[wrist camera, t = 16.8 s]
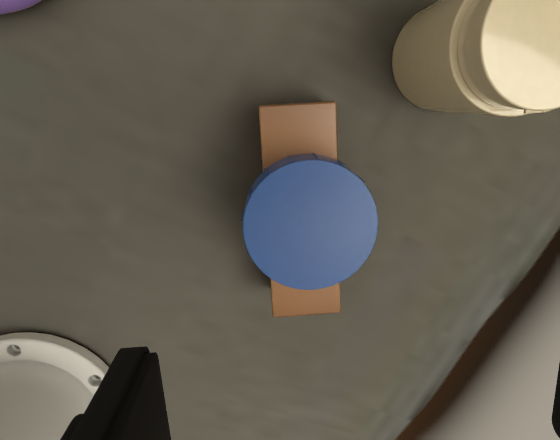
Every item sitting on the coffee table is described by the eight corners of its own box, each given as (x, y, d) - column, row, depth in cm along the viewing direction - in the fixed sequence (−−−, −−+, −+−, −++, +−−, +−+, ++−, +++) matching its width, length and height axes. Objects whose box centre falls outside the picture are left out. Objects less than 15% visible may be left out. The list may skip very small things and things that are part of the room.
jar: (488, 107, 26) (619, 114, 17) (391, 113, 26) (467, 123, 16) (495, 0, 25) (647, -62, 15) (392, 5, 24) (478, -54, 15)
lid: (263, 137, 22) (264, 141, 20) (385, 173, 23) (398, 181, 21) (229, 255, 24) (226, 272, 22) (344, 285, 25) (352, 304, 23)
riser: (330, 284, 29) (340, 313, 25) (271, 288, 29) (272, 318, 25) (325, 100, 26) (336, 101, 22) (258, 104, 26) (258, 106, 22)
